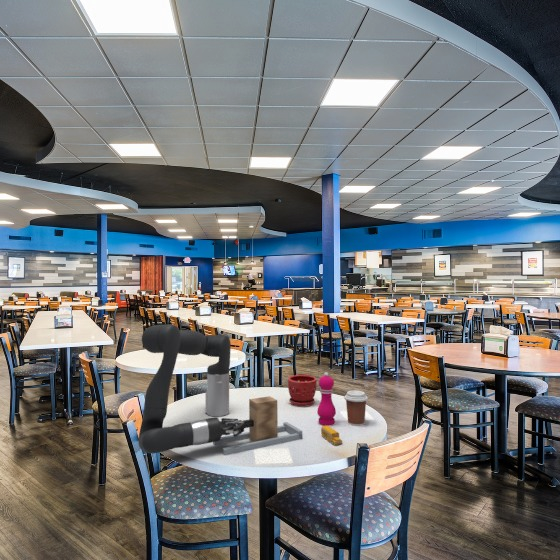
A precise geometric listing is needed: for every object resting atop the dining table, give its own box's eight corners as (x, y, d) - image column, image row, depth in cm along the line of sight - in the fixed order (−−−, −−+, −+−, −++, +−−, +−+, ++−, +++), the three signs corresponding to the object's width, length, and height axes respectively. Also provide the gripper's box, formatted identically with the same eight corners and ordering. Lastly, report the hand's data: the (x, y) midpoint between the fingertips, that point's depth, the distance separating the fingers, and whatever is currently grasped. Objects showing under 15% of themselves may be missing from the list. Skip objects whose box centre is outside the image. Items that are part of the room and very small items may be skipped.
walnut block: (256, 445, 137) (256, 403, 138) (249, 439, 143) (249, 399, 143) (277, 440, 141) (277, 400, 141) (269, 435, 146) (269, 396, 147)
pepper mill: (316, 420, 164) (316, 370, 164) (334, 420, 164) (334, 370, 164) (318, 426, 157) (317, 374, 157) (336, 426, 157) (336, 374, 157)
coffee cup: (343, 419, 165) (343, 389, 165) (366, 419, 164) (366, 389, 164) (345, 426, 156) (344, 395, 156) (369, 427, 155) (369, 395, 155)
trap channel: (224, 456, 129) (224, 446, 129) (213, 444, 139) (213, 435, 139) (302, 439, 143) (302, 430, 143) (286, 430, 153) (286, 422, 153)
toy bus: (334, 446, 137) (334, 435, 137) (321, 436, 146) (320, 426, 146) (342, 445, 138) (342, 433, 138) (328, 435, 147) (328, 425, 147)
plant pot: (282, 404, 187) (282, 378, 187) (299, 398, 197) (299, 373, 197) (305, 409, 178) (304, 382, 178) (322, 403, 188) (322, 377, 188)
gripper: (210, 425, 126) (261, 417, 134) (198, 414, 138) (245, 406, 146) (210, 450, 126) (261, 439, 134) (198, 436, 138) (245, 427, 146)
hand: (252, 422), depth 140 cm, fingers closed
